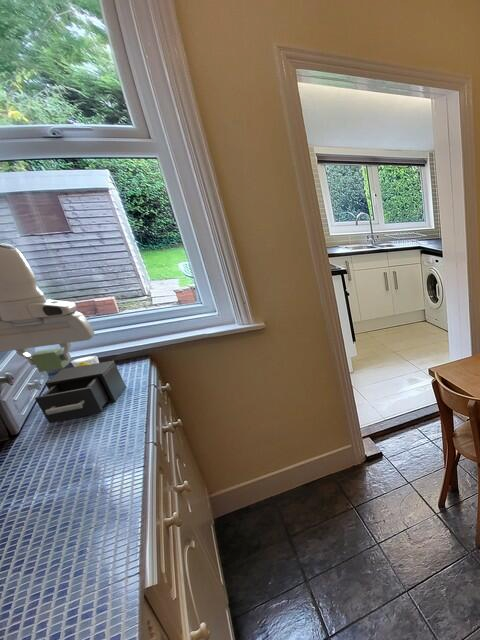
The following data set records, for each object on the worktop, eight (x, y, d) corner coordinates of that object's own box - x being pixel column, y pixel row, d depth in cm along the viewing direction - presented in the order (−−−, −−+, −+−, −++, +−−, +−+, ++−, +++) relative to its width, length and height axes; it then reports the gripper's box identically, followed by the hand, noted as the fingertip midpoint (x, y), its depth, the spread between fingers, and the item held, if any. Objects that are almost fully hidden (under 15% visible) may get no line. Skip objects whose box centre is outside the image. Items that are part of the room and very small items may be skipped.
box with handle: (115, 401, 128) (101, 373, 124) (61, 412, 123) (44, 383, 119) (126, 386, 139) (113, 360, 135) (76, 396, 133) (62, 368, 129)
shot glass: (84, 375, 151) (75, 357, 148) (108, 371, 153) (99, 354, 150) (76, 382, 145) (67, 363, 142) (101, 377, 148) (92, 359, 145)
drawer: (98, 418, 116) (85, 393, 113) (42, 429, 111) (27, 404, 108) (113, 396, 129) (102, 374, 126) (65, 406, 124) (52, 383, 121)
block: (39, 372, 105) (30, 355, 103) (46, 366, 109) (38, 350, 107) (62, 368, 107) (54, 352, 105) (69, 363, 111) (61, 347, 109)
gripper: (-44, 319, 95) (-12, 374, 100) (74, 306, 104) (98, 357, 109) (-29, 313, 100) (1, 366, 105) (83, 302, 109) (105, 351, 114)
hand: (51, 361), depth 108 cm, fingers closed on block, 4 cm apart
